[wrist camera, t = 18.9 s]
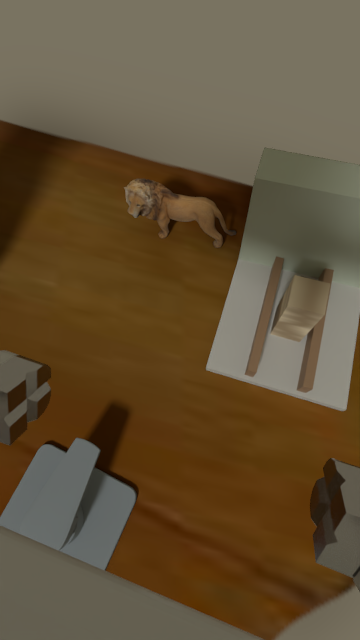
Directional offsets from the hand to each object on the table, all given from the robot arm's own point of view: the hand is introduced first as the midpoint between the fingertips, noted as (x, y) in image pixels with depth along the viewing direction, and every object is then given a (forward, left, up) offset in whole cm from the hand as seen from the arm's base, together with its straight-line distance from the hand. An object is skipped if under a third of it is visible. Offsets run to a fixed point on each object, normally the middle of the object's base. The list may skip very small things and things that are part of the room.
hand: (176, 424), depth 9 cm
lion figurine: (-10, +27, -30) cm, 41 cm away
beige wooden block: (+7, +16, -28) cm, 33 cm away
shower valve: (-11, -11, -30) cm, 34 cm away
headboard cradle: (+7, +18, -29) cm, 35 cm away
